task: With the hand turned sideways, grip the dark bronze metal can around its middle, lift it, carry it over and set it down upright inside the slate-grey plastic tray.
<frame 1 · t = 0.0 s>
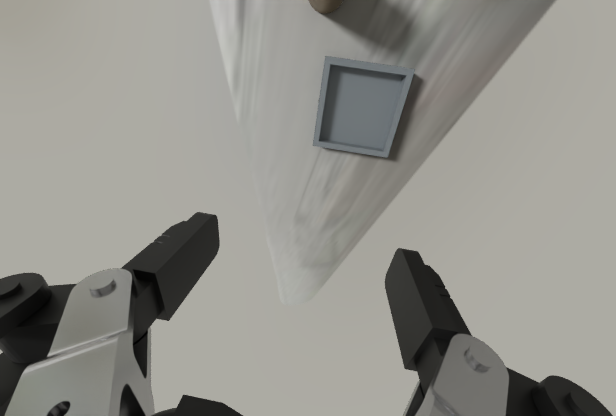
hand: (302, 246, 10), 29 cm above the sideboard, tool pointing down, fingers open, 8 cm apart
tray: (357, 109, 33), on the sideboard
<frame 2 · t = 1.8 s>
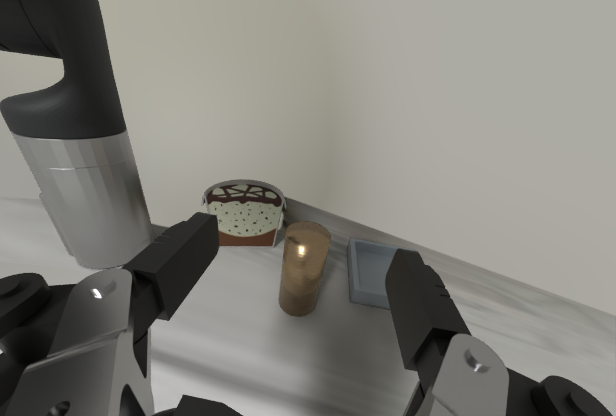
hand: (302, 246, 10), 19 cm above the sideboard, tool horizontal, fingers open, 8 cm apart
tray: (384, 278, 35), on the sideboard
bronze can: (297, 299, 30), on the sideboard
food container: (247, 237, 40), on the sideboard
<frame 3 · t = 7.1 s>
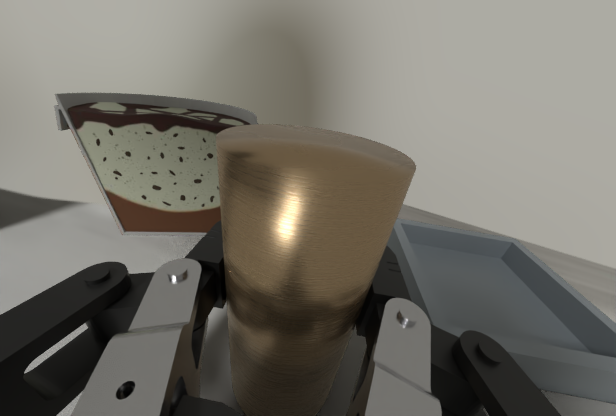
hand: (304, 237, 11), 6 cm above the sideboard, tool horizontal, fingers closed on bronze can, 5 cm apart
tray: (471, 296, 17), on the sideboard
bronze can: (283, 362, 11), on the sideboard, touching gripper
food container: (196, 217, 21), on the sideboard
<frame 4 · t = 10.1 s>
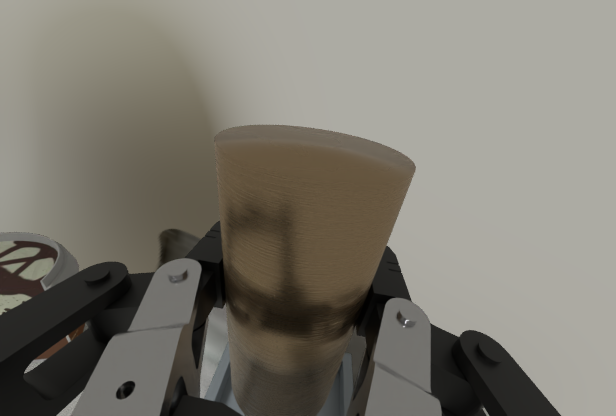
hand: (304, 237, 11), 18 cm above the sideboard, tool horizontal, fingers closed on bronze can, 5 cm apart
bronze can: (283, 363, 11), point 12 cm above the sideboard, touching gripper
food container: (45, 331, 22), on the sideboard
when the fingers open (8 cm above the sideboard, at t = 13.0 s): bronze can drops 1 cm, resting on tray.
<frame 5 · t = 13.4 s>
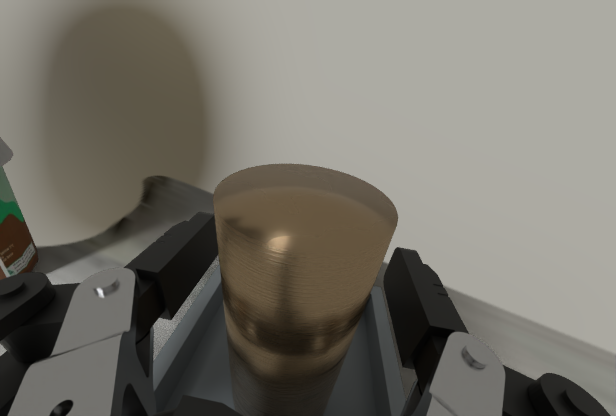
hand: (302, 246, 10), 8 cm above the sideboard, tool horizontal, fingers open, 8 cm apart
tray: (280, 382, 12), on the sideboard
bronze can: (282, 379, 12), point 1 cm above the sideboard, touching tray
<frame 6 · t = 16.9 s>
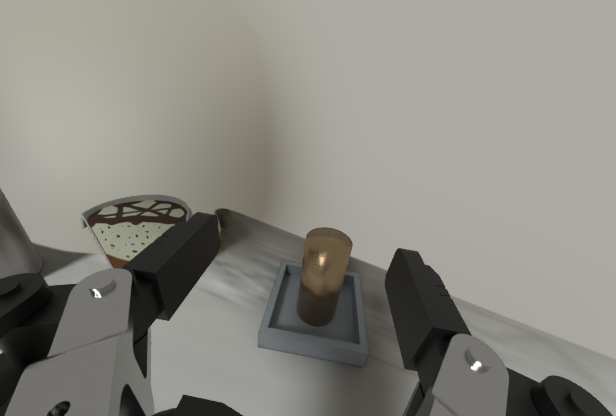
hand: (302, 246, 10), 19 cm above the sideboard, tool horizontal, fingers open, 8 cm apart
tray: (314, 310, 29), on the sideboard
bronze can: (315, 308, 29), point 1 cm above the sideboard, touching tray
food container: (162, 261, 34), on the sideboard
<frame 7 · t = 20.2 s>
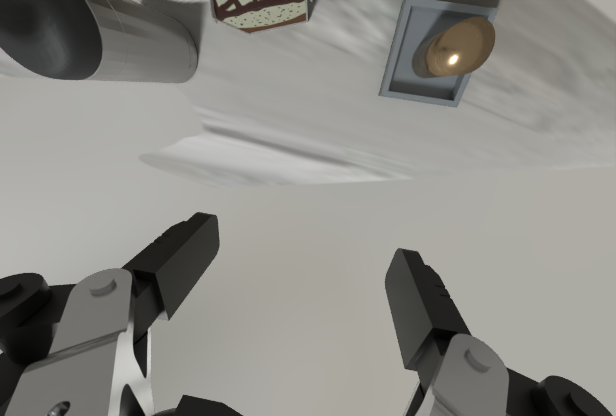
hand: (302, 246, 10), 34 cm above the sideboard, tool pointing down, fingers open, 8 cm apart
tray: (427, 58, 33), on the sideboard
bronze can: (429, 59, 33), point 1 cm above the sideboard, touching tray
food container: (274, 2, 33), on the sideboard
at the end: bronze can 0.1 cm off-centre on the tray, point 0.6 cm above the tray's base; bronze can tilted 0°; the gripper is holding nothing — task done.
